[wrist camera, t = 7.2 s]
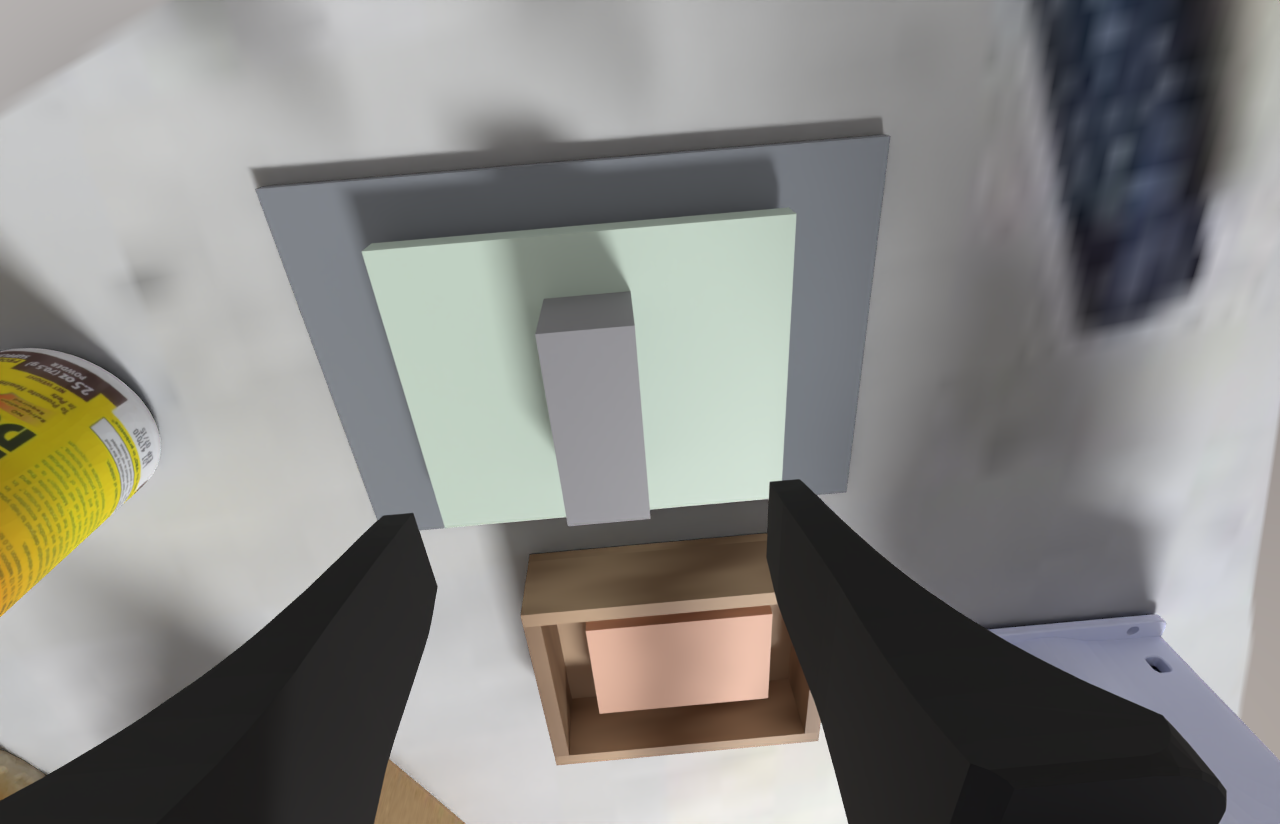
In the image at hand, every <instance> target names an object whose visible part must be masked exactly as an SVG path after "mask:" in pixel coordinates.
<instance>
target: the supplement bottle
mask: <svg viewBox="0 0 1280 824" xmlns="http://www.w3.org/2000/svg"><path fill="white" fill-rule="evenodd" d="M160 455H161V440H160V435H159V431H158V428H157V425H156V423H155V420H154V418H153V417H152V415H151V413H150V411H149V410H148V408H147V407H146V405H145V404H144V403H143V401H142V400H141V399H140V398H139V397H138V396H137V395H136V393H135V392H134V391H132V390H131V389H130V388H129V387H128V386H127V385H126V384H125V383H123V382H122V381H121V380H120V379H118V378H117V377H116V376H114V375H113V374H111V373H110V372H108V371H106V370H105V369H103V368H101V367H99V366H97V365H95V364H93V363H91V362H89V361H87V360H84V359H82V358H79V357H76V356H73V355H70V354H67V353H63V352H59V351H54V350H48V349H39V348H17V349H8V350H4V351H0V617H1V616H2V615H3V614H4V613H5V612H6V611H7V610H8V609H10V608H11V607H12V606H13V605H14V604H15V603H16V602H17V601H18V600H19V599H20V598H21V597H22V596H23V595H25V594H26V593H27V592H28V591H29V590H30V589H31V588H32V587H33V586H34V585H36V584H37V583H38V582H39V581H40V580H41V579H42V578H43V577H44V576H45V575H46V574H48V573H49V572H50V571H51V570H52V569H53V568H54V567H55V566H56V565H57V564H58V563H60V562H61V561H62V560H63V559H64V558H65V557H66V556H67V555H68V554H70V553H71V552H72V551H73V550H74V549H75V548H76V547H77V546H78V545H79V544H80V543H81V542H82V541H84V540H85V539H86V538H87V537H88V536H89V535H90V534H91V533H92V532H93V531H94V530H95V529H97V528H98V527H99V526H100V525H101V524H102V523H103V522H104V521H105V520H106V519H107V518H108V517H110V516H111V515H112V514H113V513H114V512H115V511H116V510H117V509H118V508H120V507H121V506H122V505H123V504H124V503H125V502H126V501H127V500H128V499H129V498H130V497H131V496H132V495H133V494H135V493H136V492H137V491H138V490H139V489H140V488H141V487H142V486H143V485H144V484H145V483H146V482H147V481H148V480H149V479H150V478H151V476H152V475H153V473H154V472H155V470H156V468H157V466H158V463H159V460H160Z"/></svg>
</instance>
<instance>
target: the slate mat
mask: <svg viewBox="0 0 1280 824" xmlns="http://www.w3.org/2000/svg"><path fill="white" fill-rule="evenodd" d="M889 143H890V136H888V135H874V136H862V137H850V138H838V139H826V140H814V141H802V142H790V143H778V144H766V145H754V146H742V147H730V148H718V149H706V150H694V151H682V152H670V153H658V154H646V155H634V156H622V157H610V158H598V159H586V160H574V161H562V162H550V163H538V164H526V165H514V166H502V167H490V168H478V169H466V170H454V171H442V172H430V173H418V174H406V175H394V176H382V177H370V178H358V179H346V180H334V181H322V182H310V183H299V184H287V185H275V186H263V187H260V188H257V189H255V190H256V192H257V195H258V198H259V201H260V203H261V206H262V209H263V211H264V214H265V217H266V220H267V222H268V225H269V228H270V230H271V233H272V236H273V239H274V241H275V244H276V247H277V249H278V252H279V255H280V258H281V260H282V263H283V266H284V268H285V271H286V274H287V276H288V279H289V282H290V285H291V287H292V290H293V293H294V295H295V298H296V301H297V304H298V306H299V309H300V312H301V314H302V317H303V320H304V323H305V325H306V328H307V331H308V333H309V336H310V339H311V342H312V344H313V347H314V350H315V352H316V355H317V358H318V360H319V363H320V366H321V369H322V371H323V374H324V377H325V379H326V382H327V385H328V388H329V390H330V393H331V396H332V398H333V401H334V404H335V407H336V409H337V412H338V415H339V417H340V420H341V423H342V426H343V428H344V431H345V434H346V436H347V439H348V442H349V445H350V447H351V450H352V453H353V455H354V458H355V461H356V463H357V466H358V469H359V472H360V474H361V477H362V480H363V482H364V485H365V488H366V491H367V493H368V496H369V499H370V501H371V504H372V507H373V510H374V512H375V515H376V518H377V520H379V519H380V518H381V517H382V516H383V515H394V514H405V513H414V516H415V519H416V522H417V526H418V529H419V530H428V529H439V528H445V526H444V523H443V520H442V516H441V513H440V510H439V506H438V503H437V500H436V496H435V493H434V490H433V487H432V483H431V480H430V477H429V473H428V470H427V467H426V463H425V460H424V457H423V453H422V450H421V447H420V443H419V440H418V437H417V434H416V430H415V427H414V424H413V420H412V417H411V414H410V410H409V407H408V404H407V400H406V397H405V394H404V391H403V387H402V384H401V381H400V377H399V374H398V371H397V367H396V364H395V361H394V357H393V354H392V351H391V347H390V344H389V341H388V338H387V334H386V331H385V328H384V324H383V321H382V318H381V314H380V311H379V308H378V304H377V301H376V298H375V294H374V291H373V288H372V285H371V281H370V278H369V275H368V271H367V268H366V265H365V261H364V258H363V255H362V251H363V250H364V249H365V248H366V247H368V246H369V245H370V244H371V243H382V242H393V241H405V240H417V239H428V238H440V237H452V236H463V235H475V234H486V233H498V232H510V231H521V230H533V229H544V228H556V227H568V226H579V225H591V224H602V223H614V222H626V221H637V220H649V219H661V218H672V217H684V216H695V215H707V214H719V213H730V212H742V211H753V210H765V209H777V208H788V207H789V208H790V209H791V210H792V211H793V212H795V213H796V233H795V251H794V269H793V287H792V306H791V324H790V342H789V361H788V379H787V397H786V415H785V434H784V452H783V470H782V481H783V480H794V479H800V480H801V481H802V482H804V483H805V484H806V485H807V486H808V487H809V488H810V489H811V490H812V491H813V492H814V493H815V494H816V495H820V494H832V493H843V492H846V491H847V483H848V475H849V467H850V459H851V451H852V442H853V434H854V426H855V418H856V410H857V402H858V394H859V386H860V378H861V370H862V361H863V353H864V345H865V337H866V329H867V321H868V313H869V305H870V297H871V288H872V280H873V272H874V264H875V256H876V248H877V240H878V232H879V224H880V216H881V207H882V199H883V191H884V183H885V175H886V167H887V159H888V151H889ZM762 500H764V499H762ZM751 501H753V500H751ZM740 502H742V501H740ZM728 503H731V502H728ZM717 504H719V503H717ZM706 505H708V504H706ZM695 506H697V505H695ZM684 507H686V506H684ZM673 508H675V507H673ZM662 509H663V508H662ZM651 510H652V509H651Z"/></svg>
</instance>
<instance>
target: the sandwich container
mask: <svg viewBox="0 0 1280 824" xmlns="http://www.w3.org/2000/svg"><path fill="white" fill-rule="evenodd" d="M374 824H465V823H464V822H463V821H462V820H460V819H459V818H458V817H457V816H456V815H455V814H453V813H452V812H451V811H450V810H449V809H447V808H446V807H445V806H444V805H443V804H442V803H440V802H439V801H438V800H437V799H436V798H435V797H433V796H432V795H431V794H430V793H429V792H428V791H426V790H425V789H424V788H423V787H422V786H420V785H419V784H418V783H417V782H416V781H414V780H413V779H412V778H411V777H410V776H409V775H407V774H406V773H405V772H404V771H403V770H401V769H400V768H399V767H398V766H397V765H395V764H394V763H393V762H392V761H391V760H390V759H389V760H388V764H387V768H386V772H385V777H384V781H383V786H382V790H381V795H380V799H379V804H378V808H377V813H376V817H375V822H374Z"/></svg>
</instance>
